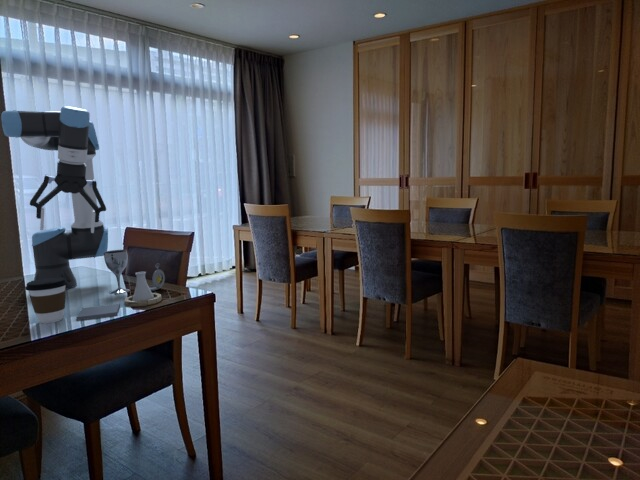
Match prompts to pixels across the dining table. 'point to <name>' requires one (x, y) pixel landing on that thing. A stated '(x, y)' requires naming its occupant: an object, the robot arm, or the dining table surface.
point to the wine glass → (116, 266)
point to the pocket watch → (157, 279)
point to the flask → (142, 288)
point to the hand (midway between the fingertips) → (67, 230)
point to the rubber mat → (98, 311)
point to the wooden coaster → (131, 303)
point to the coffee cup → (48, 298)
